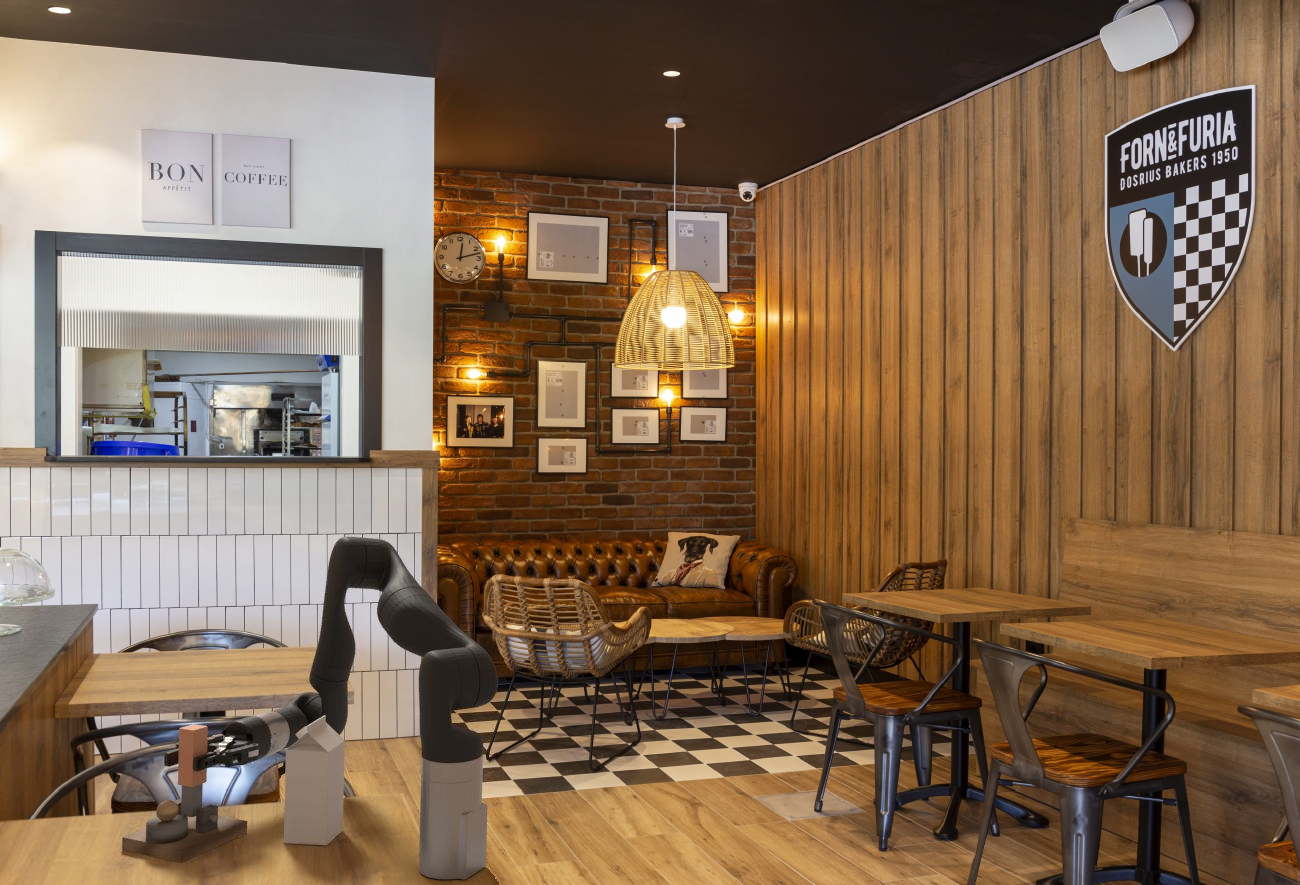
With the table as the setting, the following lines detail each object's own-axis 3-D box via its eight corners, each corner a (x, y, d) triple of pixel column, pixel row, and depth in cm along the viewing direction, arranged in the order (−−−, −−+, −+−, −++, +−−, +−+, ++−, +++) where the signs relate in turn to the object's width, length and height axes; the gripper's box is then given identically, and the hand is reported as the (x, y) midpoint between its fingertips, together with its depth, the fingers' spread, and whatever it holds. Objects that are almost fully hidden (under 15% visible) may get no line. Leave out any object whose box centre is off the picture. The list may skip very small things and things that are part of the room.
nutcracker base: (247, 833, 178) (248, 786, 179) (181, 862, 166) (182, 811, 166) (190, 822, 183) (191, 776, 183) (122, 850, 170) (123, 800, 170)
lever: (205, 813, 176) (207, 726, 176) (191, 818, 173) (193, 730, 173) (191, 810, 177) (193, 724, 177) (177, 816, 174) (179, 728, 174)
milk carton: (343, 831, 180) (345, 716, 180) (326, 846, 173) (329, 727, 173) (301, 829, 181) (304, 714, 181) (283, 844, 174) (286, 725, 174)
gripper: (223, 711, 191) (146, 733, 176) (289, 720, 186) (216, 744, 170) (222, 754, 191) (145, 780, 175) (288, 764, 186) (214, 792, 170)
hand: (180, 762), depth 173 cm, fingers open, 5 cm apart
